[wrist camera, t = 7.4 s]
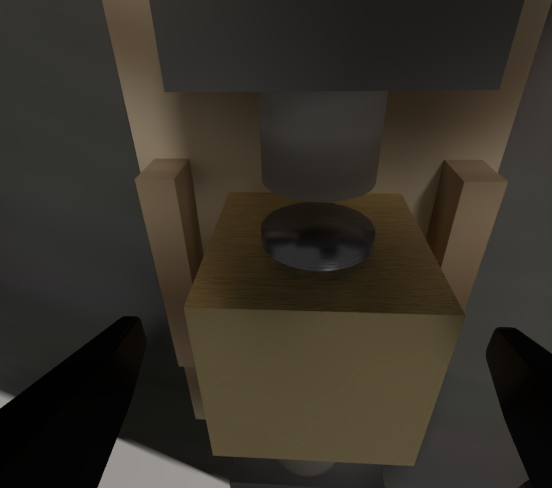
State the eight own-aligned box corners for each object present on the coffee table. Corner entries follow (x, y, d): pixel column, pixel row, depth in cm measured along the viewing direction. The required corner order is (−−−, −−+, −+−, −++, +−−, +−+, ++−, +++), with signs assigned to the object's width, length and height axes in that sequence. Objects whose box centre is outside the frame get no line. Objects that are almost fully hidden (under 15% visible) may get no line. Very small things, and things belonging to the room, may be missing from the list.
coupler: (403, 184, 11) (470, 302, 6) (378, 327, 14) (411, 472, 9) (228, 182, 11) (181, 295, 7) (241, 323, 14) (214, 461, 10)
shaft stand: (111, -86, 9) (-94, -182, 4) (547, -102, 8) (850, -233, 4) (202, 390, 19) (169, 518, 14) (408, 399, 18) (444, 536, 13)
